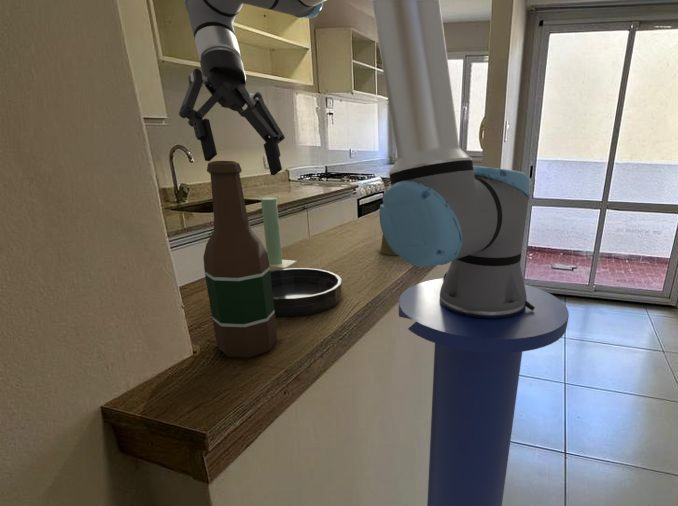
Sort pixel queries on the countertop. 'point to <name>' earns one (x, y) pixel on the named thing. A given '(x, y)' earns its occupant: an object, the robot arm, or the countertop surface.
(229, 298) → the beer bottle
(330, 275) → the black shallow round dish
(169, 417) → the countertop surface
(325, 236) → the countertop surface
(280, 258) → the green peg on base
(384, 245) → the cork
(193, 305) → the countertop surface
